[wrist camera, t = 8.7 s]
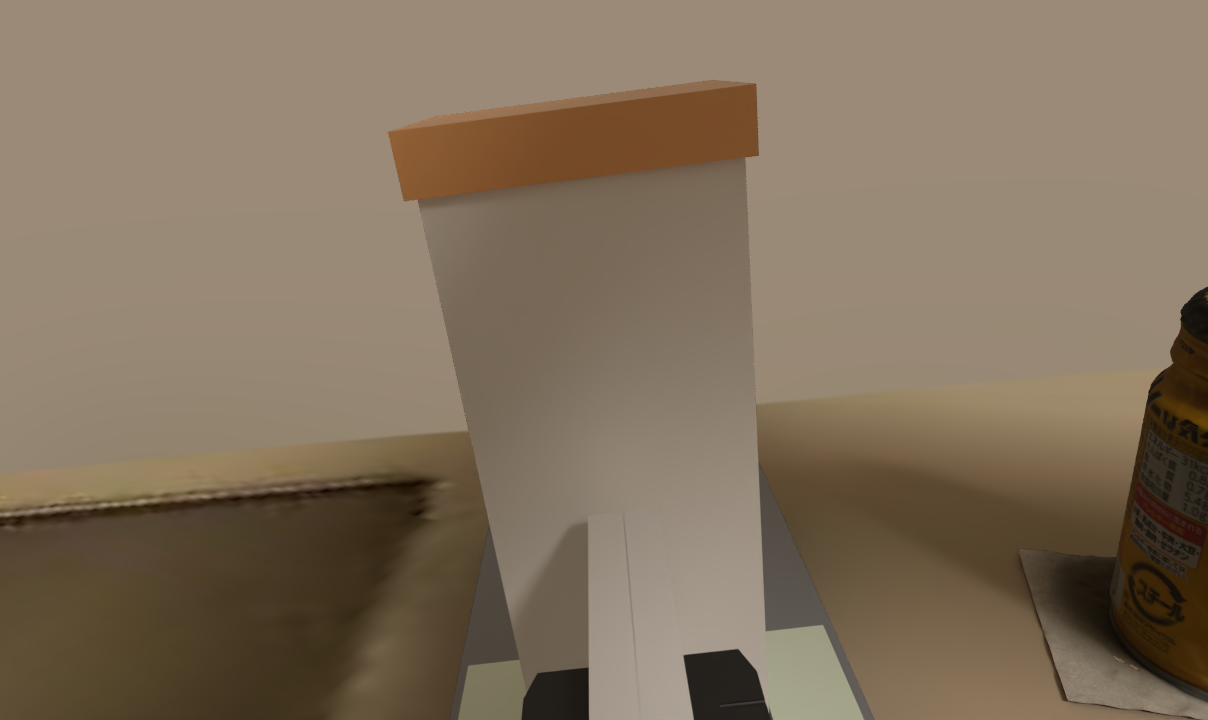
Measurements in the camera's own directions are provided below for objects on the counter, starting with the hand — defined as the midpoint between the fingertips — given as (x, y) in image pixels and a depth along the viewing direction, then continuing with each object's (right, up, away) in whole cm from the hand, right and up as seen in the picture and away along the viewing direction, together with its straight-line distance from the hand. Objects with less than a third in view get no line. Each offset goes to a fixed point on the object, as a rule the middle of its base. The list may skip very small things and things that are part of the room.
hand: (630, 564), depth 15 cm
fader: (+1, -5, +5) cm, 7 cm away
